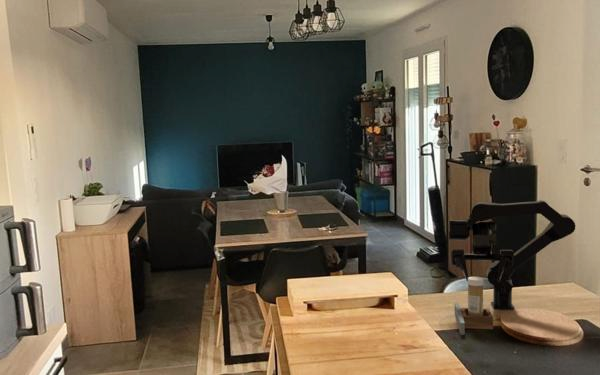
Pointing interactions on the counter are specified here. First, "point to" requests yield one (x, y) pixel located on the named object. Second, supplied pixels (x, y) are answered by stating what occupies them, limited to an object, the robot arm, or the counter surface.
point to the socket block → (478, 319)
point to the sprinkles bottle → (475, 296)
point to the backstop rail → (459, 319)
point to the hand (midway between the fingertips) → (482, 280)
